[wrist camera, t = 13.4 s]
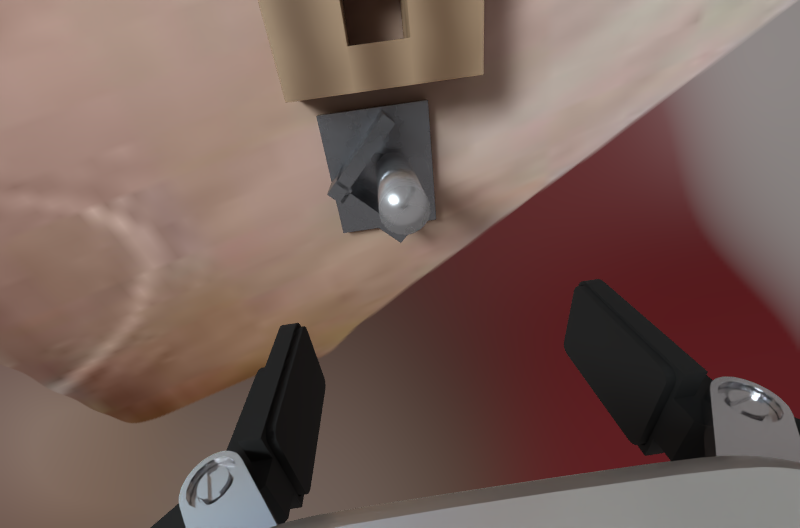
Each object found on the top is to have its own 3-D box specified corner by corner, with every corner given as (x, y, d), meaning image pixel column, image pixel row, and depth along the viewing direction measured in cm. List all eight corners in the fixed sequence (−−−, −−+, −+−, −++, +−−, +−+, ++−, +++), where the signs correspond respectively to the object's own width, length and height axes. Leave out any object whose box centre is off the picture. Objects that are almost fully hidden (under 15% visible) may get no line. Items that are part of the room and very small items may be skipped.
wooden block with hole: (464, -90, 24) (485, -128, 20) (467, 75, 30) (483, 74, 25) (257, -62, 24) (232, -94, 20) (298, 99, 30) (285, 102, 25)
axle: (409, 149, 32) (428, 182, 21) (412, 184, 33) (432, 230, 23) (373, 154, 32) (375, 189, 21) (378, 189, 33) (383, 238, 23)
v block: (434, 216, 36) (445, 238, 31) (344, 229, 36) (339, 253, 31) (426, 99, 30) (437, 103, 25) (317, 115, 30) (307, 121, 25)
